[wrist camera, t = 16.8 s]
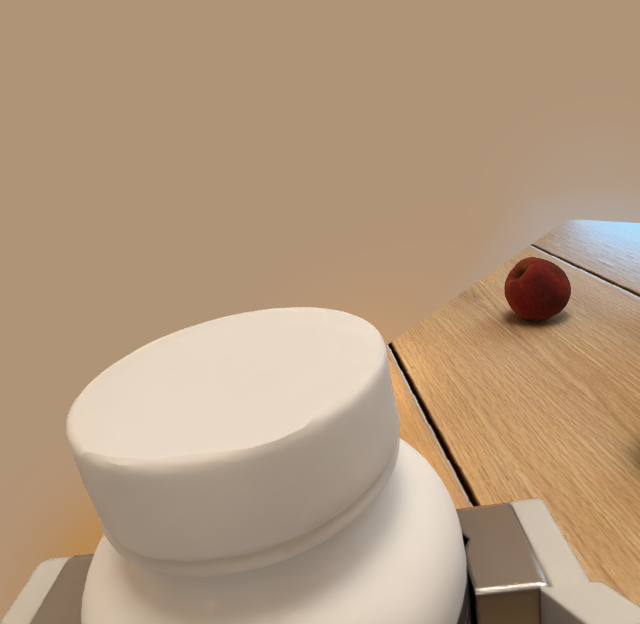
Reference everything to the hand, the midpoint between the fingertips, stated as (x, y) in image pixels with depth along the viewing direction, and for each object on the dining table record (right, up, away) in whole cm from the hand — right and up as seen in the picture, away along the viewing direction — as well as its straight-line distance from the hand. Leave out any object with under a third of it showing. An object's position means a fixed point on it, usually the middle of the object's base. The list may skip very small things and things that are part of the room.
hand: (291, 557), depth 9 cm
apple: (+29, +3, +57) cm, 64 cm away
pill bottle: (+1, -6, +1) cm, 6 cm away
